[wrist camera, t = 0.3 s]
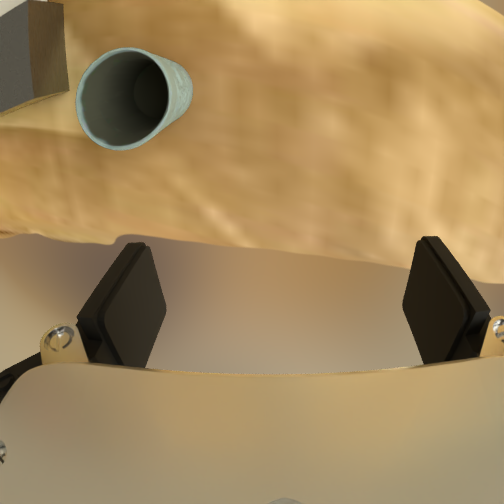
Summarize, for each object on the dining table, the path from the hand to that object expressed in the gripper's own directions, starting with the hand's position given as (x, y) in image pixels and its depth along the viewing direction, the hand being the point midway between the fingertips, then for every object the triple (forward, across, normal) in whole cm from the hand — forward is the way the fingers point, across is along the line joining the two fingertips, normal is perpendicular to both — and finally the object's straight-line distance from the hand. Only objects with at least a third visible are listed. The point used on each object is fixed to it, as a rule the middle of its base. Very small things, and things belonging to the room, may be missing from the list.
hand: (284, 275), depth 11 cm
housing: (+31, +36, -16) cm, 50 cm away
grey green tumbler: (+31, +14, -6) cm, 34 cm away
